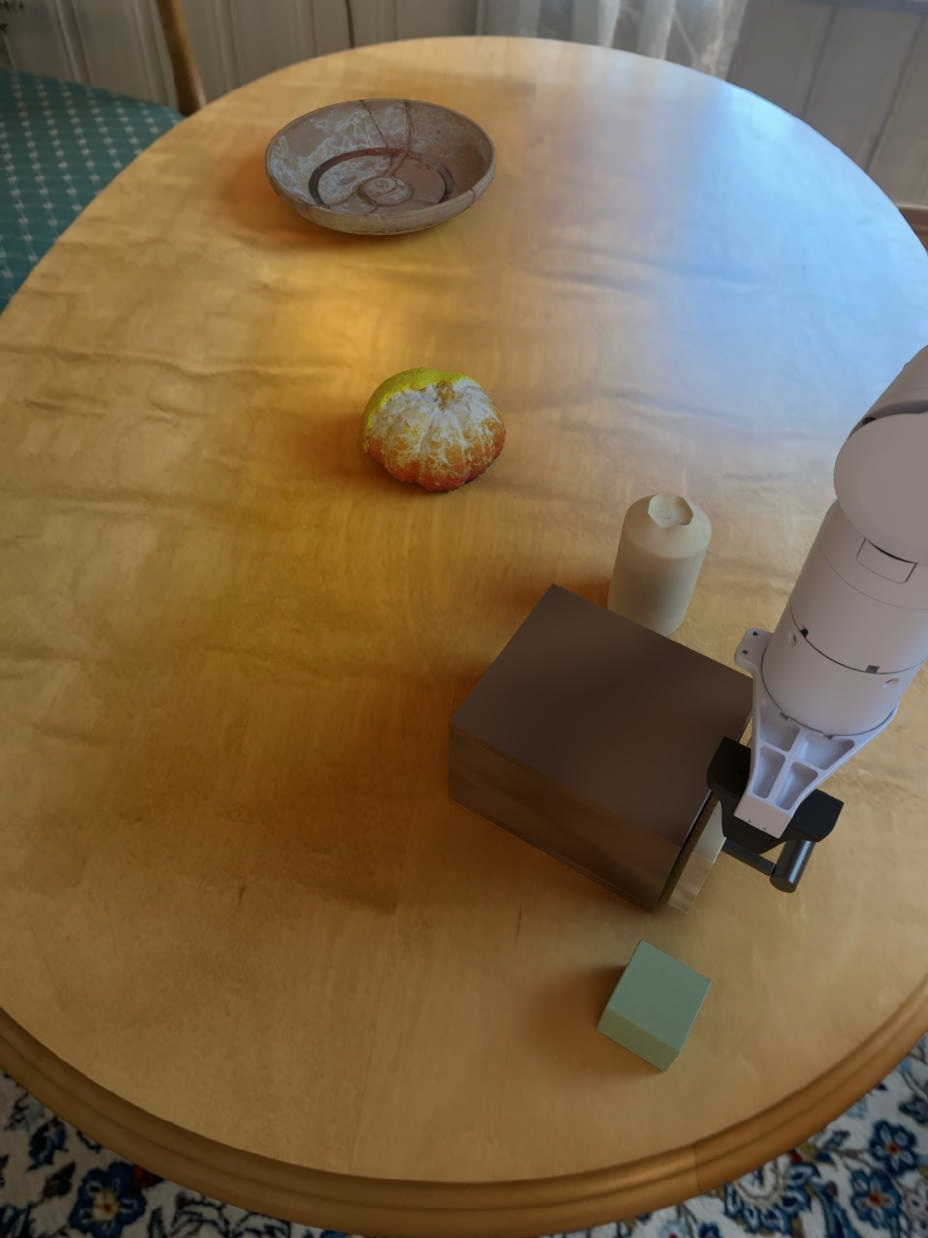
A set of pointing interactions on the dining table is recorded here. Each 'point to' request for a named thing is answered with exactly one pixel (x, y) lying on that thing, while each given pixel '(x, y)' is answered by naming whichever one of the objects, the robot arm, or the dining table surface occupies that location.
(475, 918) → the dining table surface
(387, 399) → the fruit
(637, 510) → the beige bottle
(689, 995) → the block
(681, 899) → the drawer
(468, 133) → the ceramic bowl
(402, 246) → the dining table surface
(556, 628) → the cabinet
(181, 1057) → the dining table surface
